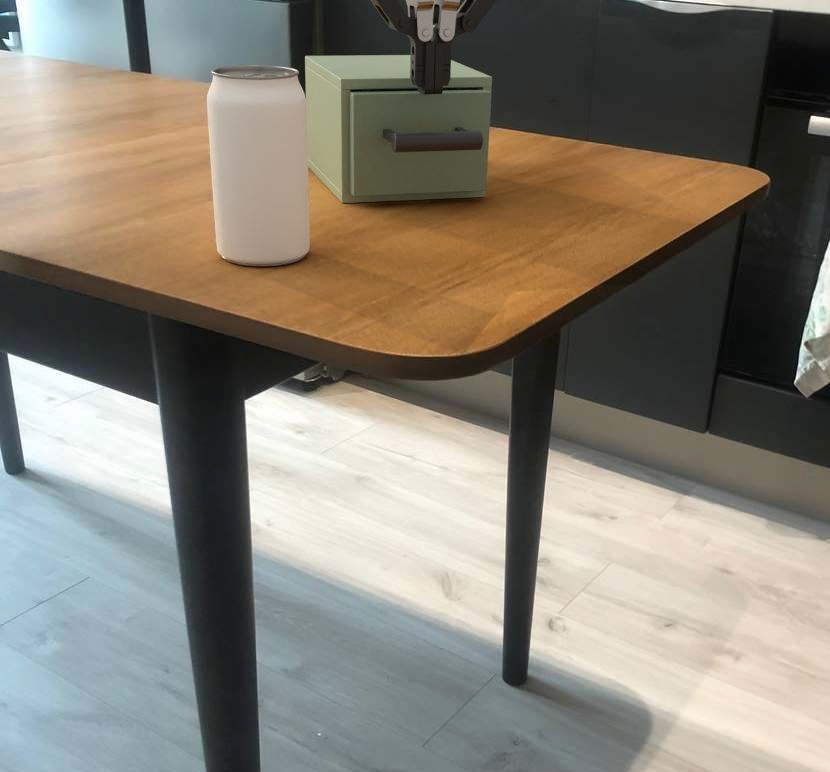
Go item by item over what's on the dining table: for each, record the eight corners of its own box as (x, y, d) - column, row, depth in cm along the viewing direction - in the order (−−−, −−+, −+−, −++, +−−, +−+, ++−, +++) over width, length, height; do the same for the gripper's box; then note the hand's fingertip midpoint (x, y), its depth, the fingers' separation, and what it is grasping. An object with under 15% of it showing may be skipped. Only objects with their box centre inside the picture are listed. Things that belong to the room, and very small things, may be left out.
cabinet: (485, 197, 93) (492, 76, 88) (341, 203, 89) (340, 78, 85) (435, 162, 105) (439, 54, 100) (307, 166, 102) (304, 55, 97)
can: (241, 238, 79) (232, 62, 73) (324, 247, 78) (320, 68, 72) (200, 261, 74) (186, 73, 68) (287, 272, 72) (281, 80, 66)
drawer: (505, 204, 87) (512, 101, 83) (367, 210, 84) (367, 104, 80) (438, 158, 102) (441, 69, 98) (319, 162, 99) (317, 70, 95)
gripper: (356, -179, 71) (358, 103, 79) (544, -171, 74) (527, 98, 83) (332, -173, 77) (336, 87, 86) (506, -166, 80) (494, 84, 89)
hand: (430, 92), depth 84 cm, fingers closed
